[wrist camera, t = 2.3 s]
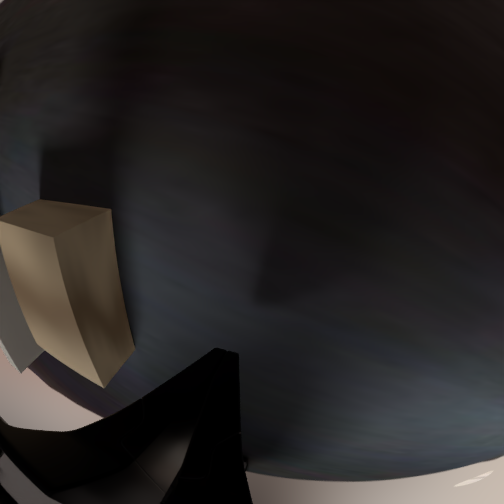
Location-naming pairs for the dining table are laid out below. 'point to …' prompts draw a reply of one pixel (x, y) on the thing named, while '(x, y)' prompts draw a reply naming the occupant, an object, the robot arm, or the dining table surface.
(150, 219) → the dining table surface
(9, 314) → the fence bar
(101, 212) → the maple block
